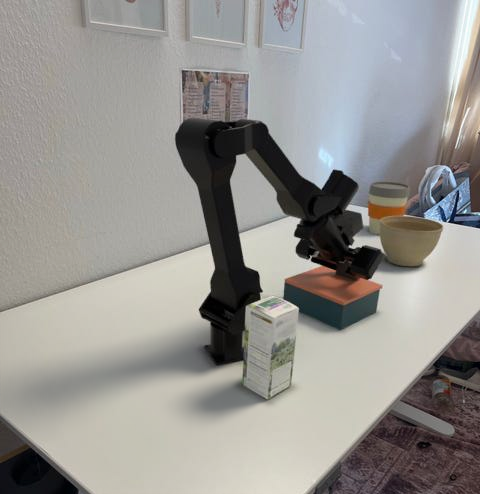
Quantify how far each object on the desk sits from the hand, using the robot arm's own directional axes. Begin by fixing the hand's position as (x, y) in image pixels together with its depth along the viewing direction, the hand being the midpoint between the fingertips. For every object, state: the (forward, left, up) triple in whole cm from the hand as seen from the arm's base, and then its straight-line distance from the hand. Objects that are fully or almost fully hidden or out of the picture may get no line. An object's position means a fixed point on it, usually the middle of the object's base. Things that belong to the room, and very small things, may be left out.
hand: (350, 273), depth 105 cm
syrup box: (-23, +32, -7) cm, 40 cm away
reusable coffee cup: (+42, -45, -7) cm, 62 cm away
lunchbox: (-2, +6, -7) cm, 9 cm away
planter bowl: (+16, -31, -7) cm, 35 cm away
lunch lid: (-2, +6, -1) cm, 6 cm away
